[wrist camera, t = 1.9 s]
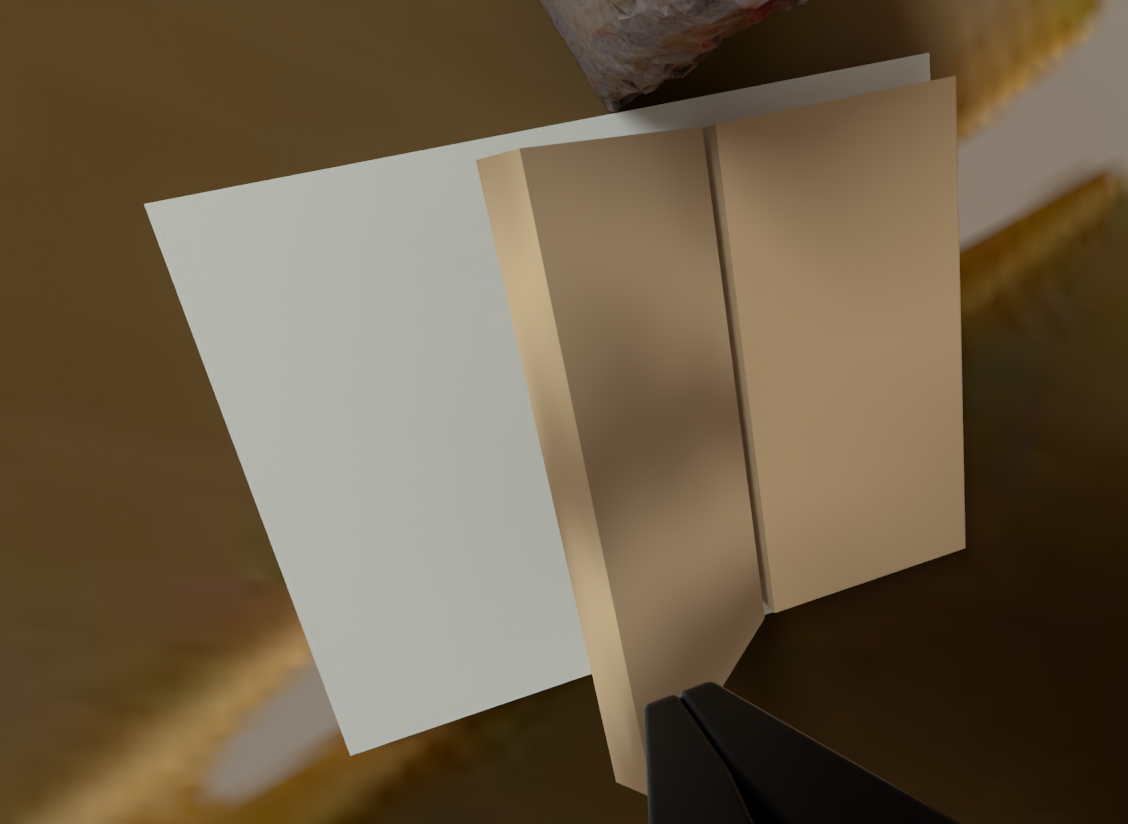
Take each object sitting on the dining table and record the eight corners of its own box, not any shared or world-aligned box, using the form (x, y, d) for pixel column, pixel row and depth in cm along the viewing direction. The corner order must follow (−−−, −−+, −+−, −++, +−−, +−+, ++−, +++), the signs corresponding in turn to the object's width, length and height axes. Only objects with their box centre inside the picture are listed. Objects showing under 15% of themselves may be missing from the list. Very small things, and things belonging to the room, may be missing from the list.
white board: (923, 540, 24) (968, 567, 22) (352, 731, 20) (348, 782, 19) (903, 61, 19) (958, 43, 17) (158, 205, 16) (127, 202, 14)
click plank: (733, 610, 21) (765, 618, 20) (616, 781, 16) (653, 797, 15) (665, 135, 17) (702, 126, 16) (476, 160, 12) (519, 148, 11)
